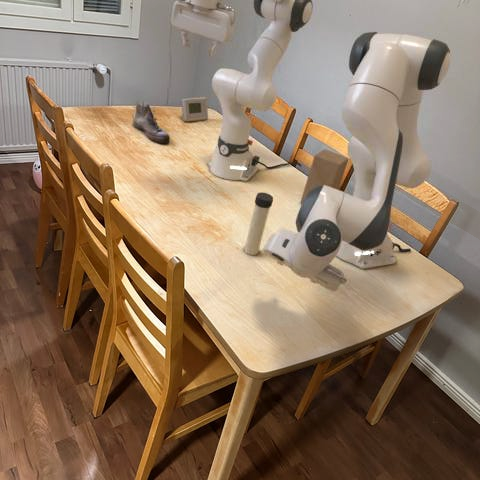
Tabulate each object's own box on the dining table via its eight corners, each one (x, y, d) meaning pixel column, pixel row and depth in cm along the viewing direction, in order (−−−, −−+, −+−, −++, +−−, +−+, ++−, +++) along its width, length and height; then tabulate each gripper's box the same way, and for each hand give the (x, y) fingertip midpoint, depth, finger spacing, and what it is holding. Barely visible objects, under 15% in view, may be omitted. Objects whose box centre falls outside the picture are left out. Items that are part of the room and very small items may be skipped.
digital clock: (183, 122, 219) (186, 101, 213) (175, 116, 224) (177, 95, 219) (211, 122, 228) (214, 101, 222) (202, 115, 233) (205, 95, 228)
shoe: (173, 145, 192) (176, 117, 186) (149, 145, 187) (151, 117, 180) (153, 123, 209) (155, 98, 203) (130, 123, 204) (132, 97, 197)
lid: (271, 201, 128) (273, 194, 127) (271, 209, 124) (273, 202, 123) (254, 198, 128) (256, 191, 126) (254, 206, 123) (256, 198, 122)
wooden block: (323, 213, 164) (339, 164, 154) (299, 203, 168) (314, 154, 157) (332, 205, 172) (349, 158, 161) (310, 195, 176) (324, 148, 165)
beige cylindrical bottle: (258, 248, 136) (271, 195, 127) (258, 256, 133) (272, 202, 123) (244, 245, 136) (257, 193, 126) (244, 253, 132) (257, 200, 123)
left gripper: (242, 8, 122) (233, 60, 129) (184, -8, 129) (179, 42, 137) (230, 7, 117) (221, 61, 124) (170, -10, 125) (165, 42, 132)
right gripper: (355, 268, 99) (339, 280, 112) (275, 224, 101) (268, 241, 114) (343, 292, 97) (328, 301, 110) (261, 247, 99) (257, 261, 112)
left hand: (198, 51), depth 131 cm, fingers open, 8 cm apart
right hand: (297, 270), depth 112 cm, fingers open, 8 cm apart
